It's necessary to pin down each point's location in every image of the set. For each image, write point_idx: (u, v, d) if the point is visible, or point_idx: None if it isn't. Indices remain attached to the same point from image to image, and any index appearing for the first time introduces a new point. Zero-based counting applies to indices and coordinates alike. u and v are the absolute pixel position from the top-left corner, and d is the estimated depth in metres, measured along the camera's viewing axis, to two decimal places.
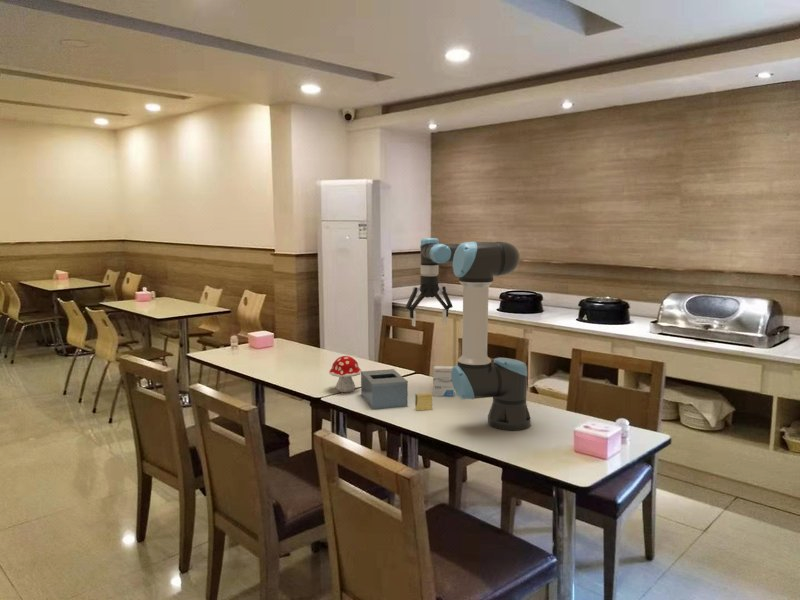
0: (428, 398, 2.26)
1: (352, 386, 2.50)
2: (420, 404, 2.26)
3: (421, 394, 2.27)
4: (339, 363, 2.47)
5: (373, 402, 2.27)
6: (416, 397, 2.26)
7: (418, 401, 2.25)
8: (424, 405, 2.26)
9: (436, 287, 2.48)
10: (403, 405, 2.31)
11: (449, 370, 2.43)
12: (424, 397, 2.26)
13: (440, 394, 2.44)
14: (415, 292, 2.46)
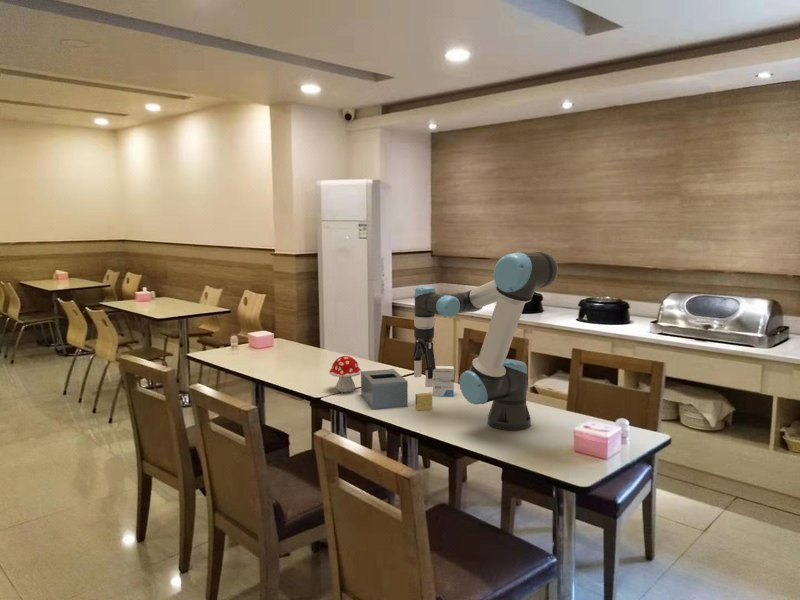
0: (428, 398, 2.26)
1: (352, 386, 2.50)
2: (420, 404, 2.26)
3: (421, 394, 2.27)
4: (339, 363, 2.47)
5: (373, 402, 2.27)
6: (416, 397, 2.26)
7: (418, 401, 2.25)
8: (424, 405, 2.26)
9: (423, 342, 2.21)
10: (403, 405, 2.31)
11: (449, 370, 2.43)
12: (424, 397, 2.26)
13: (440, 394, 2.44)
14: (415, 341, 2.30)
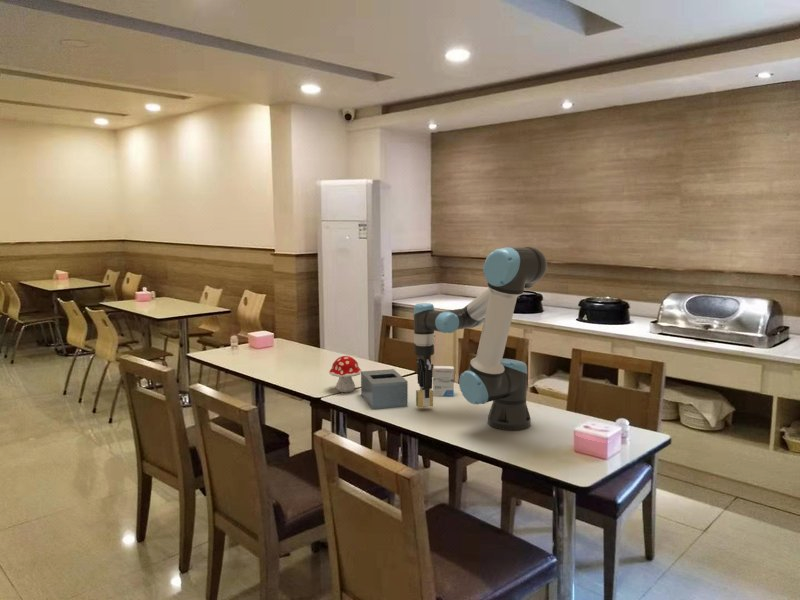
0: None
1: (352, 386, 2.50)
2: (421, 400, 2.25)
3: None
4: (339, 363, 2.47)
5: (373, 402, 2.27)
6: (417, 393, 2.25)
7: (418, 398, 2.25)
8: None
9: (424, 359, 2.22)
10: (403, 405, 2.31)
11: (449, 370, 2.43)
12: None
13: (440, 394, 2.44)
14: (417, 363, 2.30)
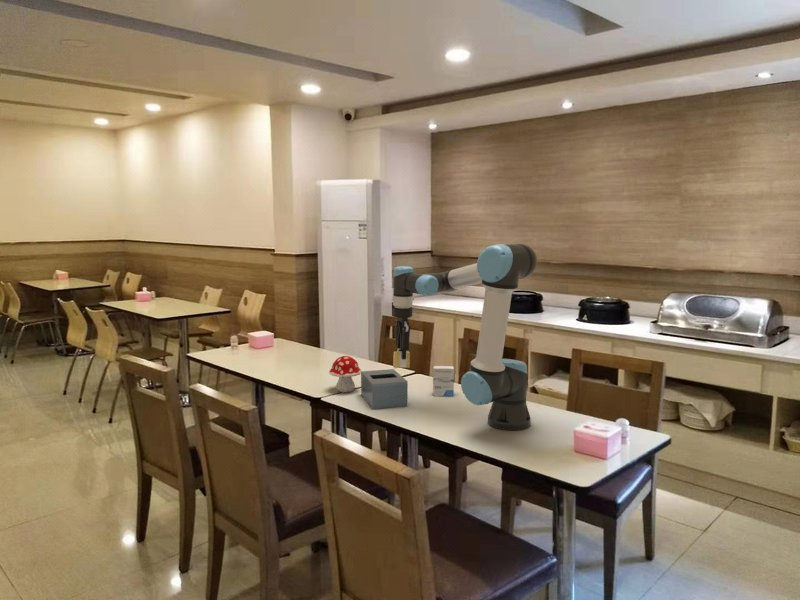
0: None
1: (352, 386, 2.50)
2: (398, 361, 2.30)
3: (399, 352, 2.31)
4: (339, 363, 2.47)
5: (373, 402, 2.27)
6: (394, 354, 2.30)
7: (395, 359, 2.29)
8: None
9: (402, 321, 2.26)
10: (403, 405, 2.31)
11: (449, 370, 2.43)
12: None
13: (440, 394, 2.44)
14: (395, 326, 2.34)
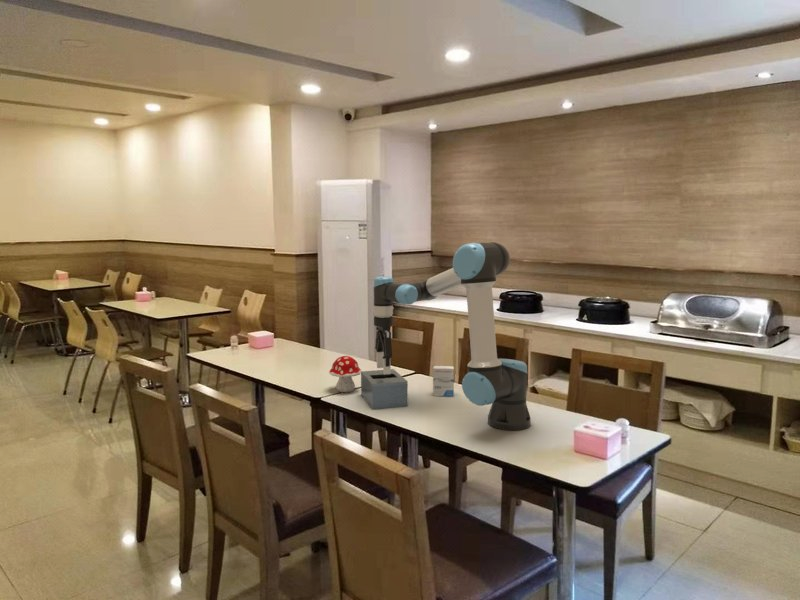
0: None
1: (352, 386, 2.50)
2: None
3: None
4: (339, 363, 2.47)
5: (373, 402, 2.27)
6: None
7: None
8: None
9: (382, 330, 2.32)
10: (403, 405, 2.31)
11: (449, 370, 2.43)
12: None
13: (440, 394, 2.44)
14: (376, 332, 2.41)
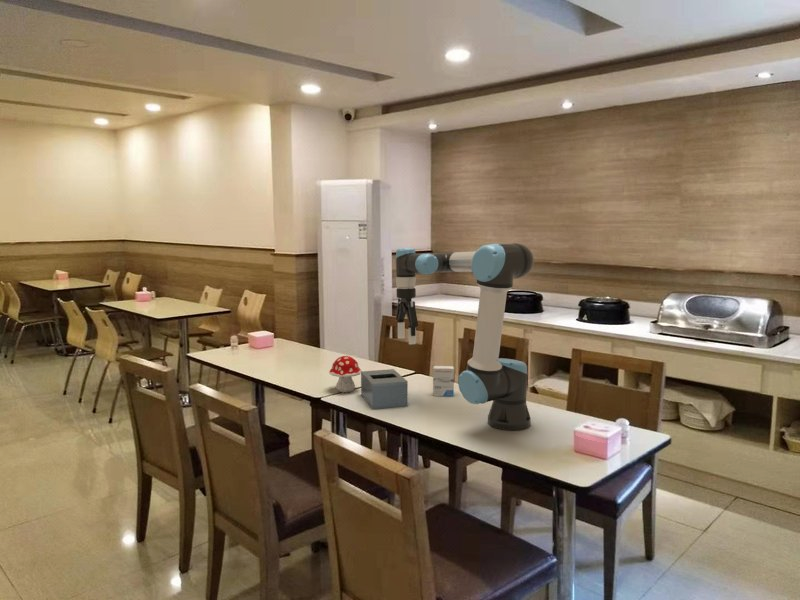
0: None
1: (352, 386, 2.50)
2: None
3: None
4: (339, 363, 2.47)
5: (373, 402, 2.27)
6: None
7: None
8: None
9: (405, 301, 2.29)
10: (403, 405, 2.31)
11: (449, 370, 2.43)
12: None
13: (440, 394, 2.44)
14: (398, 303, 2.38)
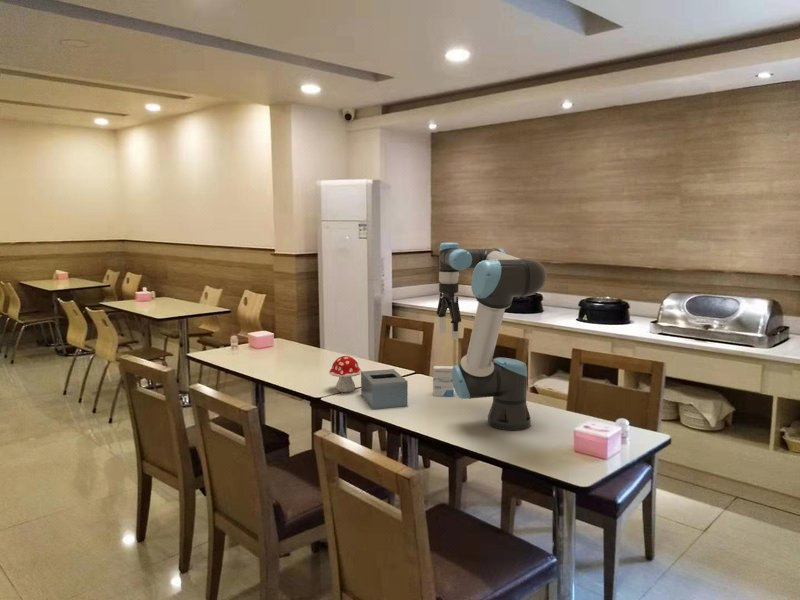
0: None
1: (352, 386, 2.50)
2: None
3: None
4: (339, 363, 2.47)
5: (373, 402, 2.27)
6: None
7: None
8: None
9: (448, 296, 2.28)
10: (403, 405, 2.31)
11: (449, 370, 2.43)
12: None
13: (440, 394, 2.44)
14: (439, 298, 2.37)
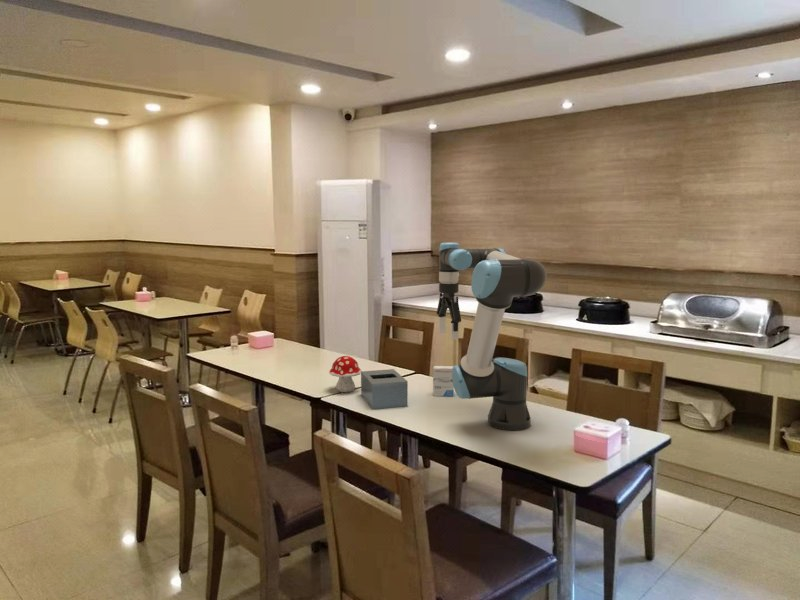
0: None
1: (352, 386, 2.50)
2: None
3: None
4: (339, 363, 2.47)
5: (373, 402, 2.27)
6: None
7: None
8: None
9: (448, 296, 2.28)
10: (403, 405, 2.31)
11: (449, 370, 2.43)
12: None
13: (440, 394, 2.44)
14: (440, 298, 2.37)
